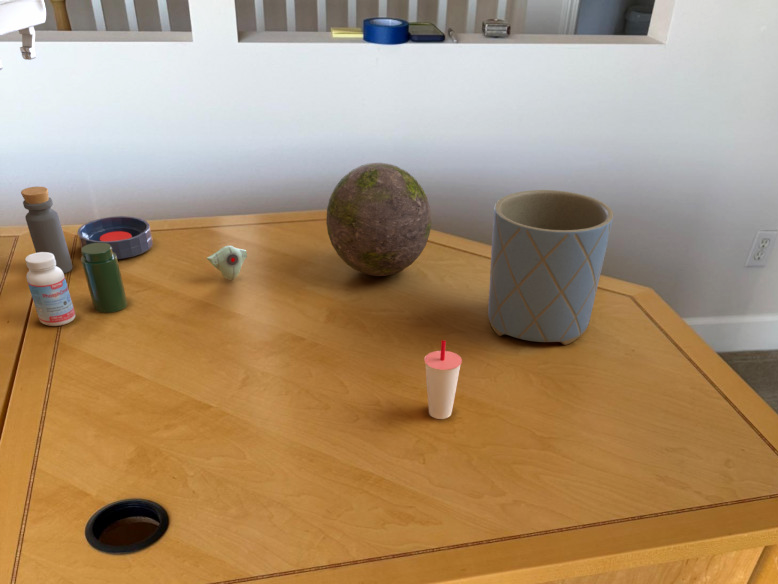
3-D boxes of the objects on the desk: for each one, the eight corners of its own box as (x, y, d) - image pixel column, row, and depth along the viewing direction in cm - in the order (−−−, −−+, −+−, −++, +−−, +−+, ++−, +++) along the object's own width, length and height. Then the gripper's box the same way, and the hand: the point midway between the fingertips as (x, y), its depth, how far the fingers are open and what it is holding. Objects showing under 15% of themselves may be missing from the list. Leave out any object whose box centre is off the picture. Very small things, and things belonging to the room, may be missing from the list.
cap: (137, 240, 163) (135, 231, 161) (127, 252, 158) (125, 243, 157) (108, 239, 163) (105, 230, 162) (96, 251, 158) (94, 242, 157)
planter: (474, 341, 133) (484, 223, 119) (494, 294, 146) (505, 184, 133) (586, 357, 129) (609, 237, 116) (595, 308, 143) (617, 196, 129)
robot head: (247, 272, 153) (243, 238, 148) (255, 279, 150) (251, 245, 146) (208, 280, 150) (203, 246, 145) (216, 288, 147) (211, 253, 142)
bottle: (79, 267, 153) (57, 189, 143) (55, 278, 150) (31, 198, 139) (59, 260, 156) (36, 183, 145) (35, 271, 152) (10, 191, 142)
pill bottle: (56, 330, 134) (36, 267, 126) (32, 321, 136) (12, 259, 129) (83, 317, 138) (66, 255, 130) (60, 308, 140) (42, 247, 132)
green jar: (86, 309, 140) (70, 251, 133) (107, 295, 144) (93, 239, 137) (114, 315, 138) (99, 257, 131) (134, 301, 142) (121, 244, 135)
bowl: (67, 254, 158) (62, 234, 155) (113, 230, 168) (109, 212, 165) (123, 266, 154) (118, 247, 151) (167, 242, 163) (163, 222, 161)
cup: (431, 399, 119) (435, 327, 111) (463, 408, 117) (469, 336, 109) (416, 416, 115) (418, 343, 107) (448, 426, 113) (453, 353, 105)
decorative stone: (395, 244, 164) (396, 142, 150) (449, 279, 151) (455, 171, 138) (311, 264, 156) (304, 158, 142) (360, 302, 143) (357, 190, 130)
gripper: (-42, -29, 112) (-9, 79, 122) (40, -44, 127) (63, 53, 136) (-79, -31, 113) (-44, 76, 123) (6, -45, 128) (32, 51, 137)
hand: (13, 64), depth 130 cm, fingers open, 8 cm apart
